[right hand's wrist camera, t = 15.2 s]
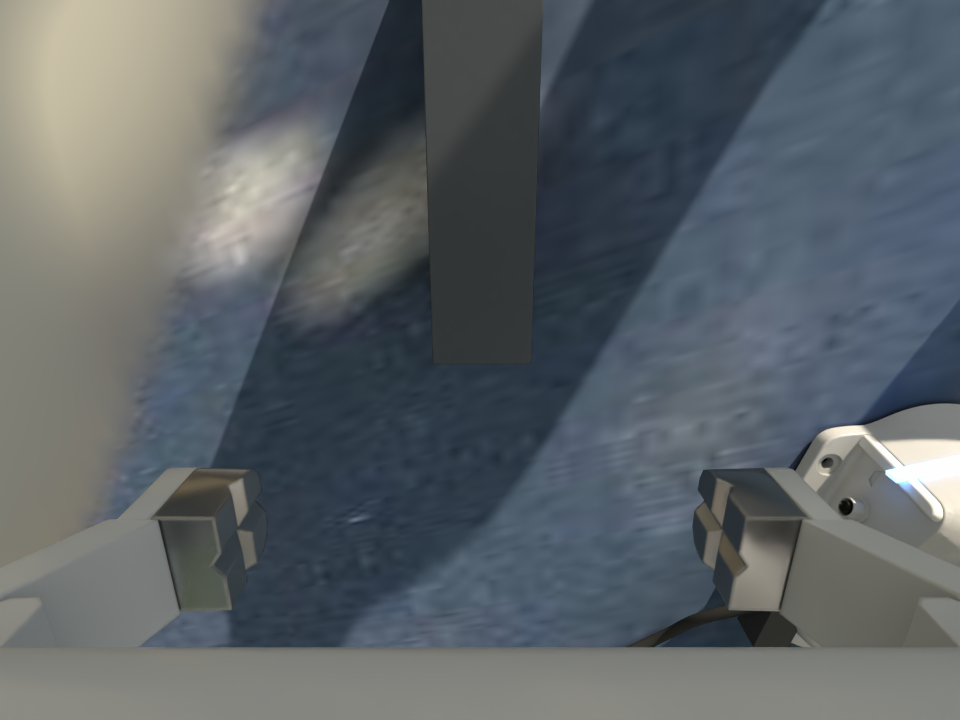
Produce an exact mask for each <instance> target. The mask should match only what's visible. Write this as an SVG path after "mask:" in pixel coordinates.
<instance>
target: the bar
mask: <svg viewBox="0 0 960 720" xmlns="http://www.w3.org/2000/svg"><path fill="white" fill-rule="evenodd" d="M421 2H422V34H423V65H424V97H425V129H426V161H427V192H428V224H429V256H430V288H431V319H432V351H433V364H531V342H532V313H533V284H534V255H535V225H536V196H537V167H538V138H539V109H540V79H541V50H542V21H543V0H421Z"/></svg>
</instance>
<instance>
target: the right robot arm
mask: <svg viewBox="0 0 960 720" xmlns="http://www.w3.org/2000/svg"><path fill="white" fill-rule="evenodd" d="M826 458H827V460H826V461H825V462H823V463H822V461H823V460H824V459H826ZM261 491H262V486H261V481H260V476H259V473H258V472H257V471H256V470H255V469H235V468H198V467H192V468H171V469H167V470H166V471H165V472H164V473H163V474H162V475H161V476H160V477H159V478H158V479H157V480H156V481H155V482H154V483H153V484H152V485H151V486H150V487H149V488H148V489H147V490H146V491H145V492H144V493H143V494H142V495H141V496H140V497H139V498H138V499H137V500H136V501H135V502H134V503H133V504H132V505H131V506H130V507H129V508H128V509H127V510H126V511H125V512H124V513H123V514H122V515H121V516H120V517H119V518H118V519H108V520H105V521H103V522H101V523H99V524H96V525H94V526H92V527H90V528H87V529H85V530H83V531H81V532H78V533H76V534H74V535H72V536H69V537H67V538H65V539H63V540H60V541H58V542H56V543H54V544H51V545H49V546H47V547H45V548H42V549H40V550H38V551H36V552H33V553H31V554H29V555H27V556H24V557H22V558H20V559H18V560H15V561H13V562H11V563H9V564H6V565H4V566H2V567H0V720H960V404H947V403H943V404H929V405H923V406H918V407H914V408H910V409H906V410H903V411H900V412H897V413H895V414H892V415H890V416H887V417H885V418H883V419H880V420H878V421H875V422H872V423H869V424H866V425H857V426H843V427H836V428H831V429H827V430H825V431H823V432H821V433H820V434H818V435H817V436H816V437H815V439H814V440H813V442H812V443H811V445H810V447H809V448H808V450H807V452H806V454H805V455H804V457H803V459H802V460H801V462H800V464H799V465H798V467H797V469H796V471H794V470H793V469H790V468H787V467H779V468H749V469H710V470H703V472H702V474H701V476H700V480H699V486H698V491H699V493H700V494H701V496H702V497H703V499H704V501H703V502H702V503H701V504H700V505H699V506H698V508H697V509H696V510H695V511H694V518H693V537H694V543H695V547H696V550H697V553H698V555H699V557H700V559H701V561H702V563H704V564H705V565H707V566H708V567H710V568H711V569H713V570H714V575H713V583H714V585H715V587H716V588H717V590H718V592H719V594H720V596H721V597H722V599H723V601H724V603H725V605H726V606H721V607H717V608H713V609H709V610H706V611H702V612H699V613H696V614H693V615H691V616H688V617H686V618H684V619H682V620H680V621H678V622H676V623H675V624H673V625H671V626H669V627H667V628H665V629H663V630H661V631H659V632H657V633H655V634H653V635H651V636H649V637H647V638H645V639H643V640H640V641H638V642H636V643H634V644H632V645H630V646H628V647H139V646H140V645H141V644H143V643H144V642H145V641H147V640H148V639H149V638H150V637H152V636H153V635H154V634H155V633H157V632H158V631H159V630H161V629H162V628H163V627H164V626H166V625H167V624H168V623H169V622H171V621H172V620H173V619H175V618H176V617H177V616H178V615H180V611H215V610H232V608H233V606H234V605H235V603H236V601H237V599H238V597H239V596H240V594H241V592H242V590H243V588H244V587H245V585H246V583H247V575H246V570H247V569H249V568H250V567H252V566H253V565H255V564H256V563H258V561H259V559H260V557H261V555H262V553H263V551H264V546H265V542H266V538H267V517H266V511H265V510H264V509H263V508H262V506H261V505H260V504H259V503H258V502H257V501H256V499H257V497H258V496H259V494H260V493H261ZM735 616H738V620H739V622H740V624H741V626H742V627H743V629H744V631H745V633H746V635H747V637H748V638H749V640H750V642H751V644H752V646H753V647H654V646H656V645H658V644H660V643H663V642H665V641H667V640H669V639H671V638H673V637H675V636H677V635H679V634H681V633H682V632H684V631H686V630H688V629H691V628H693V627H696V626H699V625H702V624H705V623H709V622H712V621H716V620H721V619H725V618H730V617H735ZM791 643H793V644H796V645H798V646H801V647H789V645H790V644H791Z"/></svg>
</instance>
